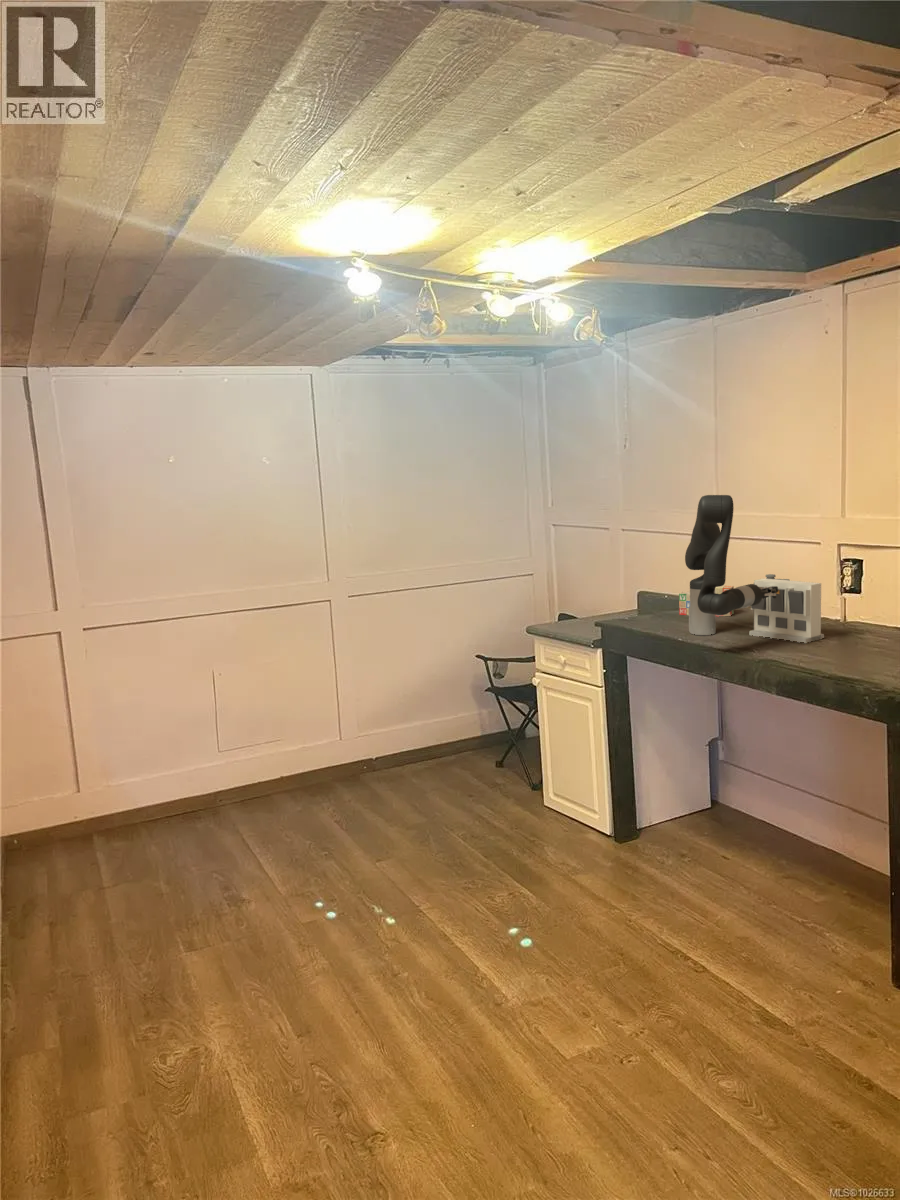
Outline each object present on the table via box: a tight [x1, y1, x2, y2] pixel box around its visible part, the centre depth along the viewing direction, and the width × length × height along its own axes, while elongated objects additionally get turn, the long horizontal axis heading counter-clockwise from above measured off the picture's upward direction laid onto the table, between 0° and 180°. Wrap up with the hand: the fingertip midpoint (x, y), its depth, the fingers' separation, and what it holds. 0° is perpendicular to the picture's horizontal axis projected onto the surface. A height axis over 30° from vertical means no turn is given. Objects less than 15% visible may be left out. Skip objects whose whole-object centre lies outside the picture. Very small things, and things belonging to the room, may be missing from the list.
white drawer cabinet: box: [748, 577, 825, 644], centre depth 323 cm, size 11×23×20 cm, turn 36°
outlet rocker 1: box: [771, 589, 785, 612], centre depth 319 cm, size 2×5×8 cm, turn 35°
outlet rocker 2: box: [788, 590, 804, 614], centre depth 313 cm, size 2×5×8 cm, turn 35°
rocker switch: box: [750, 598, 766, 610], centre depth 325 cm, size 2×5×8 cm, turn 36°
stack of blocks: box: [678, 584, 735, 617], centre depth 375 cm, size 21×6×12 cm, turn 60°
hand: (775, 589), depth 318 cm, fingers closed
